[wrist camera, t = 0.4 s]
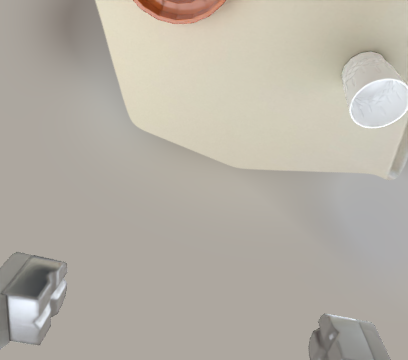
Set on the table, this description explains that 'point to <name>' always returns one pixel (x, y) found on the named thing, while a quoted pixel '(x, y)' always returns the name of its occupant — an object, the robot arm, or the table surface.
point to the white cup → (374, 91)
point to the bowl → (179, 9)
